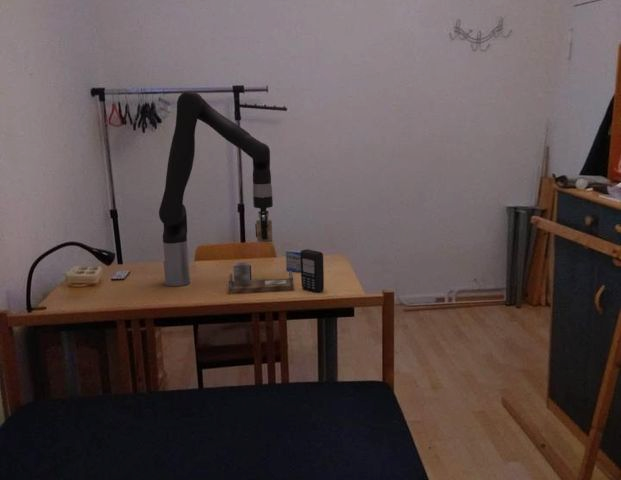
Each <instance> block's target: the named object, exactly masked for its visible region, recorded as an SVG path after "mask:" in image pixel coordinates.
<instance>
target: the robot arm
mask: <svg viewBox="0 0 621 480" xmlns="http://www.w3.org/2000/svg"><path fill="white" fill-rule="evenodd" d="M175 117H176V119H175V127H174V132H173V134H172V140H171V144H170V149H169V155H168V160H167V168H166V174H165V176H166V177H165V187H164V192H163V195H162V199H161V203H160V207H159V209H158V217H159V220H160V222H161V223H162V224H163V233H162V244H163V245H162V246H163V255H164V259H163V260H164V262H163V268H164V269H163V270H164V283H165V287H166V286H167V287H168V286H170V287H181V286H182V287H183V286H185V285H188V284H189V285H190V283H191V275H190V273H191V272H190V263H189V249H188V248H189V247H188V236H187V235H188V219H187V218H188V215H187V209H186V207H185V205H184V203H183V202H184V194H185V190H186V188H187V185H188V182H189V179H190V177H191V173H192V170H193V165H194V160H195V151H196V150H195V149H196V147H195V146H196V139H195V137H196V136H195V135H196V128H197V127H196V126H197V124H198V123H197V122H198V120H199V121H201V122H203V123H204V124H206V125H208V126H209V127H210V128H212V129H213V130H214V131H215V132H216V133H217V134H219V136H221V137H222V138H223V139H225V140H226V141H227V142H229V143H230V144H232V145H233V146H235V147H236V148H238V149H240V150H242V152H243V153H245V154H246V155H247V156H248V157H249V158H250V159H252V168H253V169H252V199H253V200H252V201H253V202H252V204H253V205H252V206H253V208H255V209H259V210H260V211H258V217H259V219H258V221H260V224H261V231H262V239H263V240H264V239H267V229H268V227H267V224H268V220H269V214H270V213H269V210H267V209H270V208H272V207H273V187H272V175H271V173H272V172H271V150H270V147H269V145H267V143H264V142H261V141H260V140H258V139H257V138H255V137H253V136H252V135H251V134H250V133H249V132H248V131H247V130H246V129H244V128H242V127H241V126H240V125H238V124H237V123H235V122H233V121H232V120H230V119H229V118H227V117H226V116H224V115H223V114H221V113H220V112H219V111H217V110H216V109H215V108H213V107H212V106H211V105H210V104H209V103H208V102H207V101H206V100H205V99H204V98H203V97H202V96H201V95H200V94H199V93H198V92H196V91H192V90H186V91H184V92H183V93H181V94H180V95H179V96H178V98H177V101H176V116H175ZM262 224H266V226H262Z"/></svg>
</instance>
